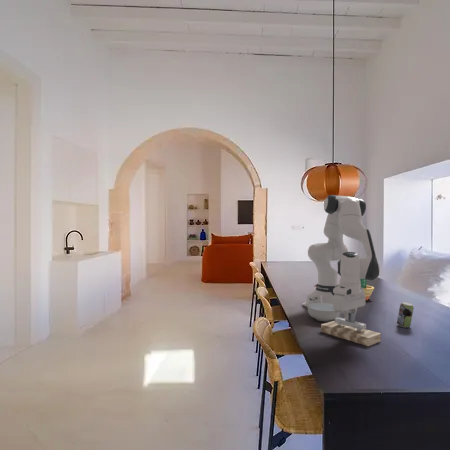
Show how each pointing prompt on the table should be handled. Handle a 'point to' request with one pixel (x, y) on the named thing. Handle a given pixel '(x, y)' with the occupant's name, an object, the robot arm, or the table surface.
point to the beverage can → (405, 314)
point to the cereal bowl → (322, 311)
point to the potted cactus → (366, 288)
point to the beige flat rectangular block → (351, 333)
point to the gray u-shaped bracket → (350, 322)
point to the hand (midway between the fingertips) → (349, 318)
